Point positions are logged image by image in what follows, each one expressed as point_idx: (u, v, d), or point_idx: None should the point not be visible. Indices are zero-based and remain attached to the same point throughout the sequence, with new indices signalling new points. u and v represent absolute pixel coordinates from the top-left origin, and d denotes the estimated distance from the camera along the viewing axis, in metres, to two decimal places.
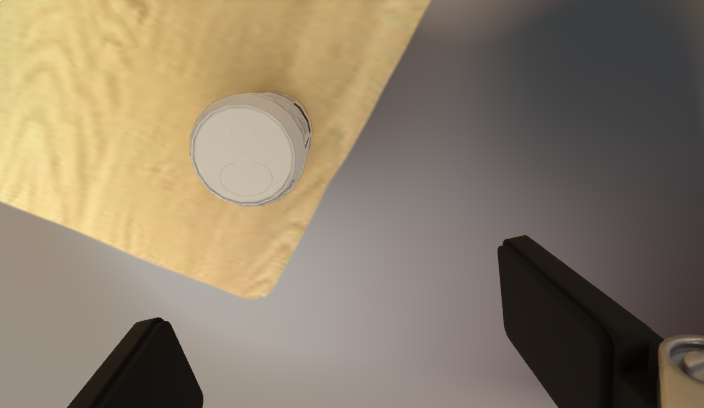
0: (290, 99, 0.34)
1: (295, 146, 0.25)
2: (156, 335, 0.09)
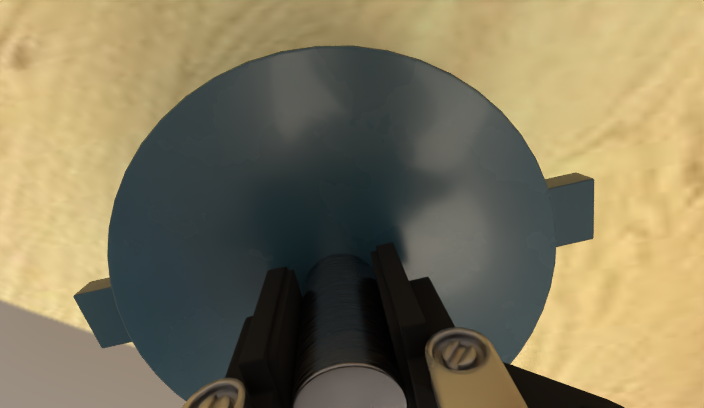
0: None
1: None
2: (291, 279, 0.10)
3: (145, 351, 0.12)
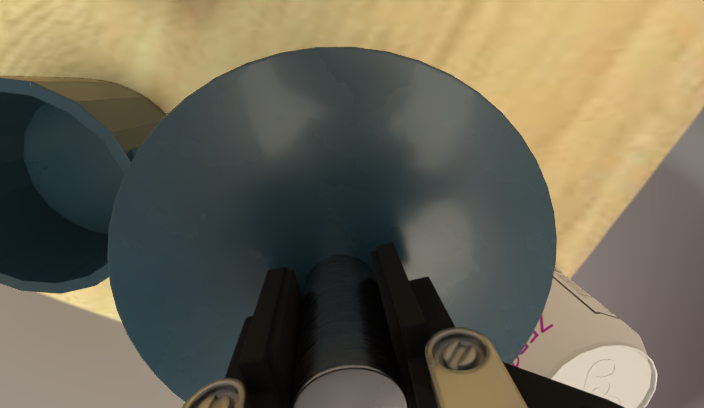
0: None
1: (650, 374, 0.21)
2: (291, 279, 0.10)
3: (145, 352, 0.12)
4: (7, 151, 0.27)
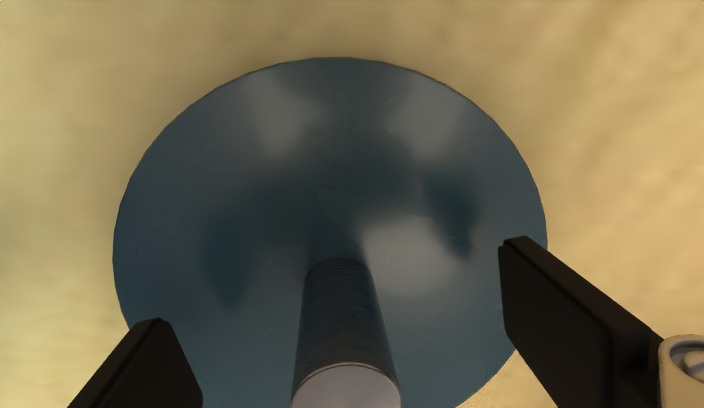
0: None
1: None
2: (156, 335, 0.09)
3: None
4: None
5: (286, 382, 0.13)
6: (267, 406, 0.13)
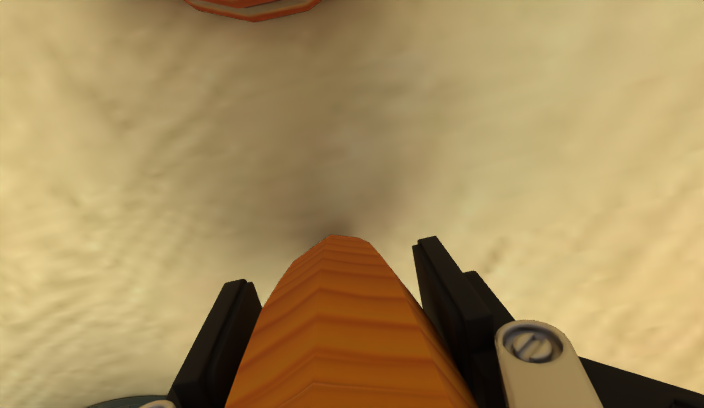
0: None
1: None
2: (247, 292, 0.10)
3: None
4: None
5: None
6: None
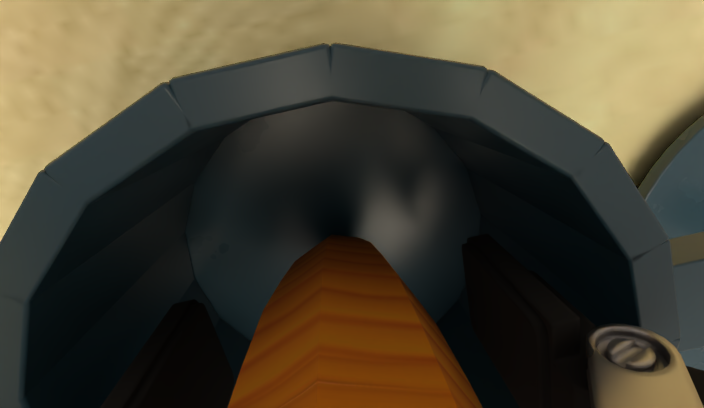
0: None
1: None
2: (194, 315, 0.09)
3: None
4: (172, 227, 0.12)
5: None
6: None
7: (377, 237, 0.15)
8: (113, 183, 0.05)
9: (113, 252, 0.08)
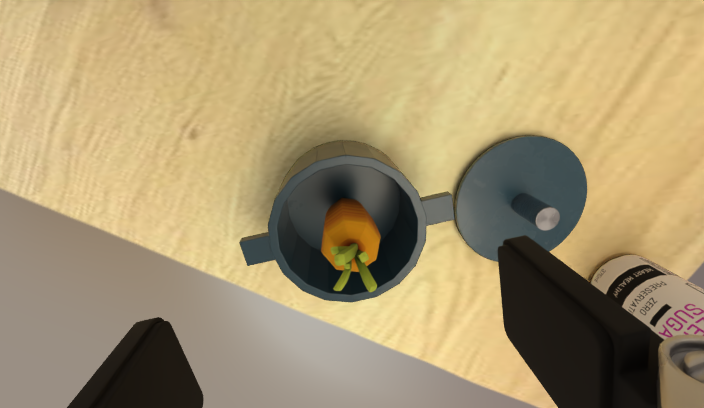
0: (669, 271, 0.40)
1: None
2: (156, 335, 0.09)
3: (460, 224, 0.39)
4: None
5: (499, 236, 0.40)
6: (491, 246, 0.40)
7: (359, 201, 0.38)
8: (304, 179, 0.29)
9: None
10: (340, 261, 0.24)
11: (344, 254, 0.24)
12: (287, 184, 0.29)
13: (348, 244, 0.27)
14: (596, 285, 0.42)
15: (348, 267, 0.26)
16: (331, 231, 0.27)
